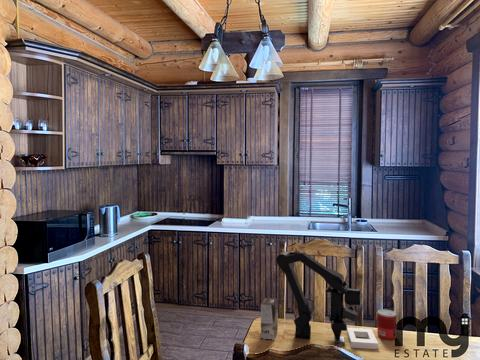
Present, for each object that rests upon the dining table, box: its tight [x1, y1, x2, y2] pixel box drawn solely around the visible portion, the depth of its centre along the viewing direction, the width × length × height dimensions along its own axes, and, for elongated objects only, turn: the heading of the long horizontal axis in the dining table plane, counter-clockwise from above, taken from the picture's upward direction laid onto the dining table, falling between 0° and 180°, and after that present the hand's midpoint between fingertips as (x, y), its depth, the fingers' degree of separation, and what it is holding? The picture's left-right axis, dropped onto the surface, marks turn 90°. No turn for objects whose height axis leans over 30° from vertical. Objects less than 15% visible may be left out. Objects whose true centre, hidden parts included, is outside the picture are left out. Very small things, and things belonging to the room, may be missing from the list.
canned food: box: [376, 308, 397, 341], centre depth 160 cm, size 8×8×11 cm
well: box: [346, 327, 379, 350], centre depth 156 cm, size 11×14×2 cm
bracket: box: [333, 335, 346, 346], centre depth 155 cm, size 4×5×7 cm
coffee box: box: [260, 297, 279, 341], centre depth 162 cm, size 9×6×16 cm
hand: (337, 337), depth 155 cm, fingers closed on bracket, 5 cm apart
